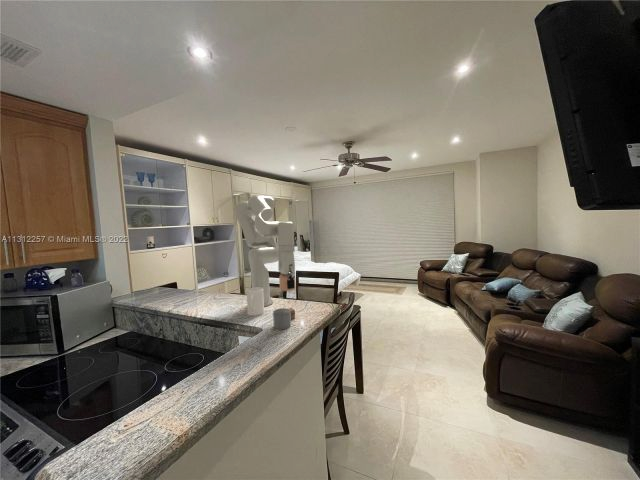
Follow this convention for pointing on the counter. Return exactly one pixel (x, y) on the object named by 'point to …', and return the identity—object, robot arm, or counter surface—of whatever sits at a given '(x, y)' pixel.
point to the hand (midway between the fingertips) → (287, 286)
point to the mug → (255, 301)
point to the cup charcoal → (282, 318)
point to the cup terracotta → (285, 283)
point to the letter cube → (292, 313)
